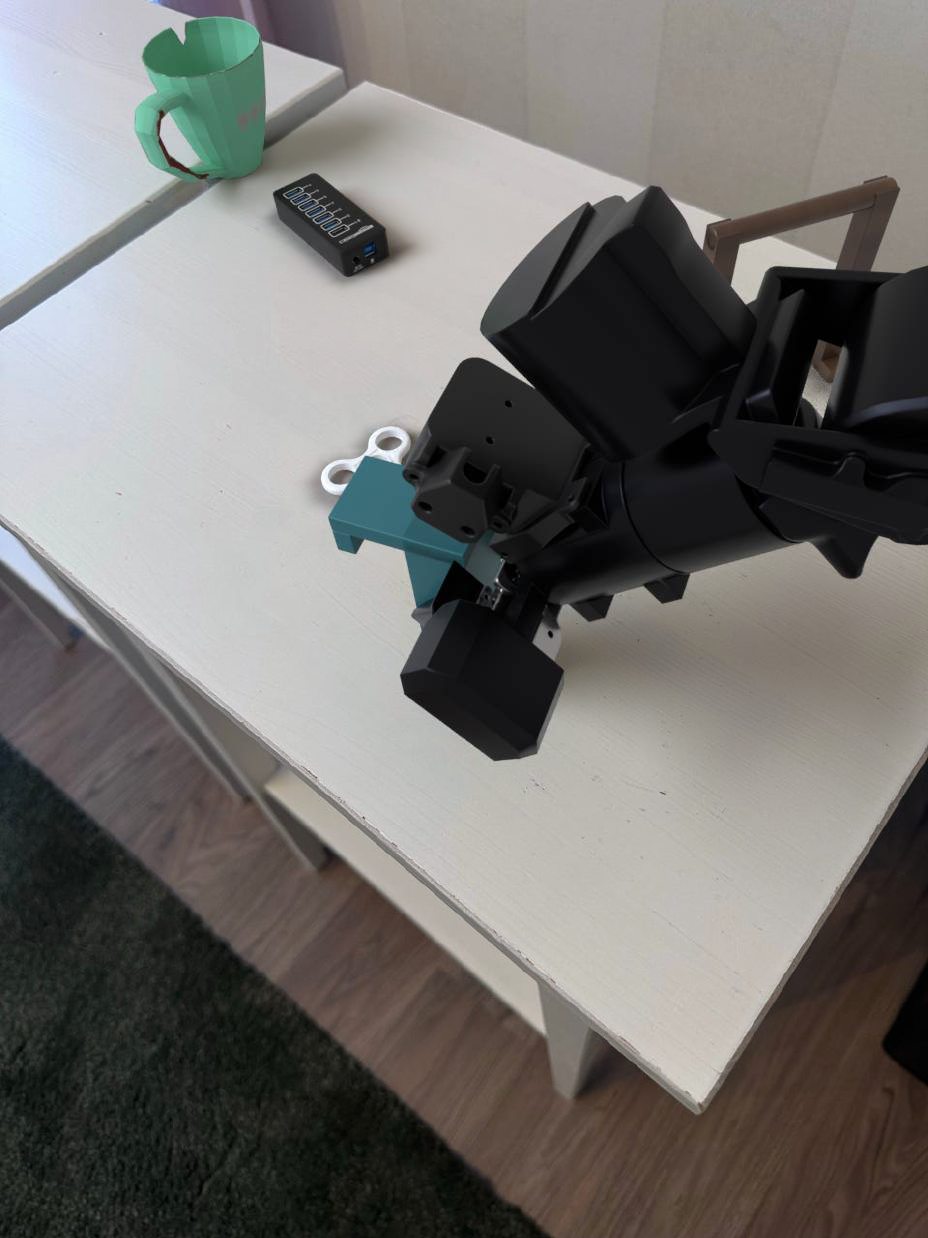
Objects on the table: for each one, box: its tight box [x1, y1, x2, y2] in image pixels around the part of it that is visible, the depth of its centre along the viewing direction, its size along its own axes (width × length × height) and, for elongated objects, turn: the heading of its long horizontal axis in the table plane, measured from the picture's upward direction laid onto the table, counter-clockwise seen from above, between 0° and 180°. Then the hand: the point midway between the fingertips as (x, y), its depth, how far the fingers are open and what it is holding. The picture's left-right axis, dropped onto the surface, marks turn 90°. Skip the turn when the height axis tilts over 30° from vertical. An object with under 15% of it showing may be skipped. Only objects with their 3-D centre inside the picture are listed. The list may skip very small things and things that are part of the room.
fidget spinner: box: [320, 425, 412, 496], centre depth 60 cm, size 7×6×1 cm
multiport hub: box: [272, 172, 390, 277], centre depth 74 cm, size 4×11×2 cm, turn 37°
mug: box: [133, 15, 267, 184], centre depth 77 cm, size 15×10×10 cm
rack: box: [701, 174, 901, 384], centre depth 57 cm, size 4×12×14 cm, turn 108°
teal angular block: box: [327, 456, 502, 632], centre depth 46 cm, size 7×4×13 cm, turn 68°
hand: (435, 585), depth 46 cm, fingers closed on teal angular block, 4 cm apart
